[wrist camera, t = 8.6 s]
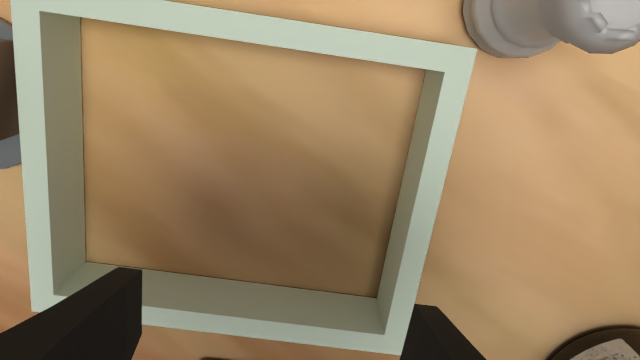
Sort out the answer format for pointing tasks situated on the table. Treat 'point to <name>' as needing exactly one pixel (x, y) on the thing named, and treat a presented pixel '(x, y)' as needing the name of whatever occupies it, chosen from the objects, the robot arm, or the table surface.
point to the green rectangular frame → (206, 292)
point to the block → (8, 91)
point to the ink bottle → (604, 346)
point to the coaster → (9, 149)
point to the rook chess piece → (552, 25)
